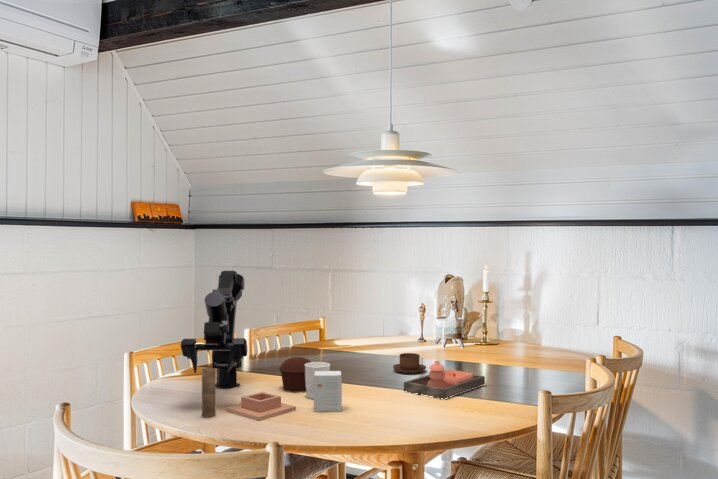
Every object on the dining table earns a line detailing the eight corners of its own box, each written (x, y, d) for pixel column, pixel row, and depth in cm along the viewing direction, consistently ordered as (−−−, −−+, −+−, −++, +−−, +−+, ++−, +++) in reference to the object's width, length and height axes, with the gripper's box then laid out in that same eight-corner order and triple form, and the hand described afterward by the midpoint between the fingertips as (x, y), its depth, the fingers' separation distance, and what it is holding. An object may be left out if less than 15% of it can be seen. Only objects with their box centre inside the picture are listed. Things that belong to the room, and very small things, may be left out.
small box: (341, 406, 195) (341, 370, 195) (341, 411, 189) (341, 374, 189) (314, 406, 195) (314, 370, 194) (313, 411, 189) (313, 374, 189)
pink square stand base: (226, 411, 189) (226, 397, 189) (263, 401, 200) (263, 388, 199) (258, 420, 180) (258, 406, 180) (295, 410, 190) (295, 396, 190)
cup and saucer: (387, 370, 245) (387, 353, 245) (415, 367, 250) (415, 351, 250) (402, 376, 234) (403, 359, 234) (432, 373, 239) (432, 356, 239)
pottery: (449, 381, 227) (449, 352, 227) (473, 385, 221) (473, 356, 221) (418, 391, 214) (418, 360, 214) (443, 396, 208) (443, 365, 207)
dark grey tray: (403, 391, 212) (403, 382, 212) (445, 378, 231) (445, 369, 231) (444, 399, 202) (444, 390, 202) (484, 385, 221) (484, 376, 221)
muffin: (281, 393, 209) (281, 362, 209) (276, 385, 220) (276, 355, 219) (318, 391, 212) (318, 360, 212) (311, 383, 223) (311, 353, 223)
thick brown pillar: (199, 415, 184) (199, 369, 184) (210, 413, 187) (210, 367, 187) (207, 418, 182) (207, 371, 182) (217, 415, 185) (217, 369, 184)
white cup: (316, 392, 211) (316, 360, 211) (335, 396, 206) (335, 364, 206) (299, 396, 205) (299, 364, 205) (318, 401, 200) (318, 368, 200)
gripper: (181, 311, 193) (173, 356, 182) (246, 310, 194) (242, 355, 184) (187, 333, 201) (179, 378, 190) (249, 333, 202) (245, 377, 191)
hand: (211, 372), depth 189 cm, fingers open, 9 cm apart
